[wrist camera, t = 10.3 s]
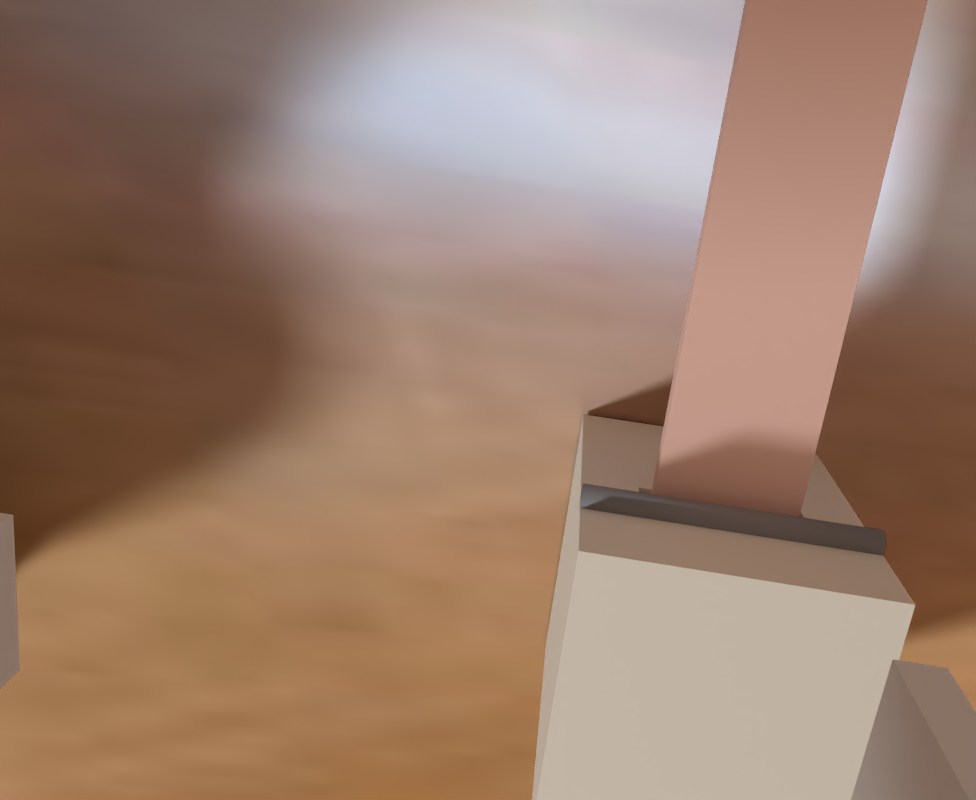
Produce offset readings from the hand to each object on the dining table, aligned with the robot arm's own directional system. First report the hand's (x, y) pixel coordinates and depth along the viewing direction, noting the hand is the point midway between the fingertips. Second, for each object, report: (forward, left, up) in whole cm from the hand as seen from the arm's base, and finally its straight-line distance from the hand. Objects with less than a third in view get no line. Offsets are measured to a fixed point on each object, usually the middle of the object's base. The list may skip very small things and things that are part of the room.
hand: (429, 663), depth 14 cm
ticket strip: (+9, +2, -25) cm, 27 cm away
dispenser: (+9, -14, -35) cm, 38 cm away
